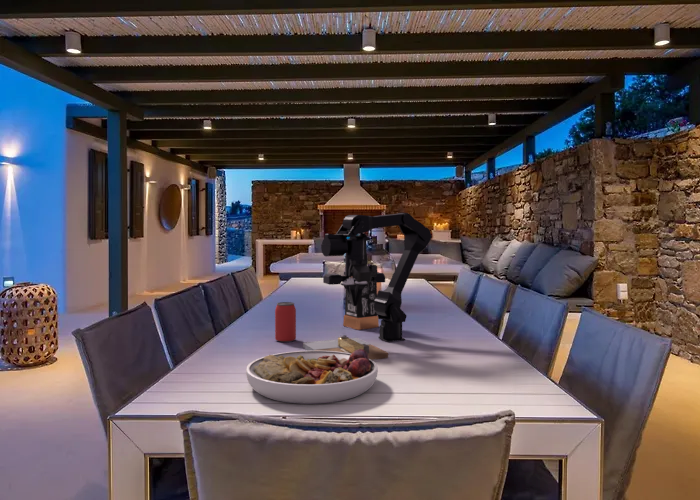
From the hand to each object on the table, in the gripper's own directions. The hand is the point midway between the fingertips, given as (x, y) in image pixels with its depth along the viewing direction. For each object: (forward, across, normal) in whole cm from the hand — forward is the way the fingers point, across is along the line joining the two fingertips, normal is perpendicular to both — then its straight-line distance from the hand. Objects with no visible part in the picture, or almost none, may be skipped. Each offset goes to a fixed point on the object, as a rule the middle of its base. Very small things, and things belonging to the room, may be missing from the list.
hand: (354, 306), depth 165 cm
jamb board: (+12, -7, -4) cm, 14 cm away
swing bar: (+10, -7, -13) cm, 18 cm away
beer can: (+12, -18, +14) cm, 26 cm away
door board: (+12, -7, -14) cm, 19 cm away
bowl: (+13, -26, -35) cm, 45 cm away
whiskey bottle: (+12, +14, +26) cm, 32 cm away
